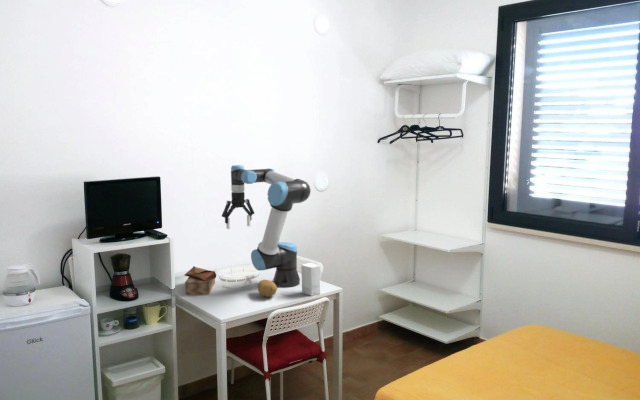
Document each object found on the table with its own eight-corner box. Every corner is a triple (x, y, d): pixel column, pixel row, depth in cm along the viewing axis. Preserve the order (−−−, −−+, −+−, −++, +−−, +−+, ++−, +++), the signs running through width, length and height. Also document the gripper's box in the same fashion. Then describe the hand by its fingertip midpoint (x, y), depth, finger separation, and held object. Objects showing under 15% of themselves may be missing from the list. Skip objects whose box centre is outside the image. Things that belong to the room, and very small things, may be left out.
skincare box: (320, 293, 265) (320, 265, 263) (310, 296, 261) (311, 267, 259) (310, 289, 272) (310, 262, 269) (300, 292, 267) (300, 264, 265)
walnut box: (215, 283, 283) (215, 271, 282) (209, 295, 263) (208, 282, 262) (193, 283, 282) (192, 271, 281) (185, 295, 262) (184, 282, 261)
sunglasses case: (182, 274, 272) (186, 263, 274) (190, 278, 278) (195, 267, 280) (204, 280, 262) (209, 268, 264) (213, 284, 268) (218, 272, 270)
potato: (270, 290, 270) (270, 276, 269) (281, 298, 258) (280, 283, 257) (253, 293, 266) (253, 278, 264) (263, 301, 253) (263, 286, 252)
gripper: (253, 189, 302) (254, 224, 305) (215, 192, 287) (216, 228, 290) (259, 190, 296) (260, 226, 299) (221, 194, 281) (222, 231, 284)
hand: (238, 227), depth 294 cm, fingers open, 13 cm apart
